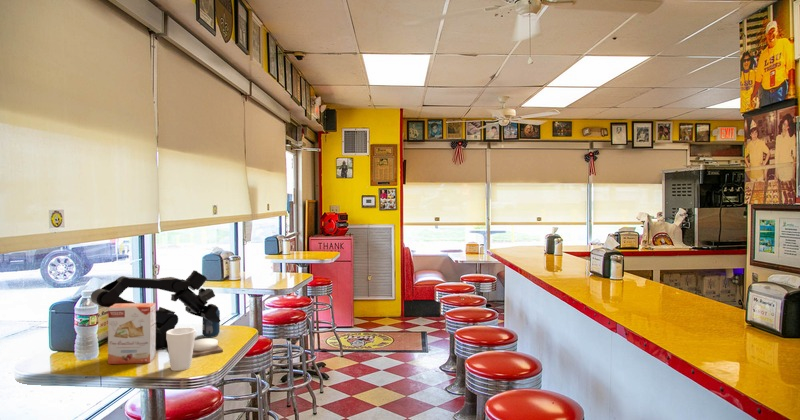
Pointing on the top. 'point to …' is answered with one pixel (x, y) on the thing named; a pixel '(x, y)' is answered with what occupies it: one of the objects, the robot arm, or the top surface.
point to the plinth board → (196, 353)
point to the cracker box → (131, 333)
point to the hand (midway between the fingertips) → (214, 319)
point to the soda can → (211, 327)
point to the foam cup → (180, 347)
